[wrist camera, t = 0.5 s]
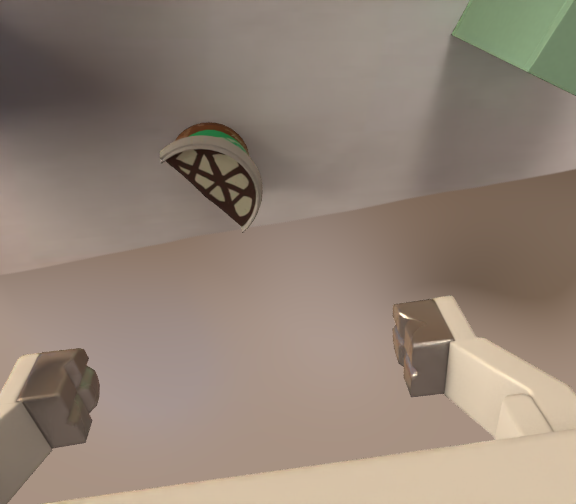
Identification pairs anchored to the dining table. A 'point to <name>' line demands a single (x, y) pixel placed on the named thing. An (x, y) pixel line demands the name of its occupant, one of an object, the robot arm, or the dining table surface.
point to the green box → (526, 36)
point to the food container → (218, 169)
